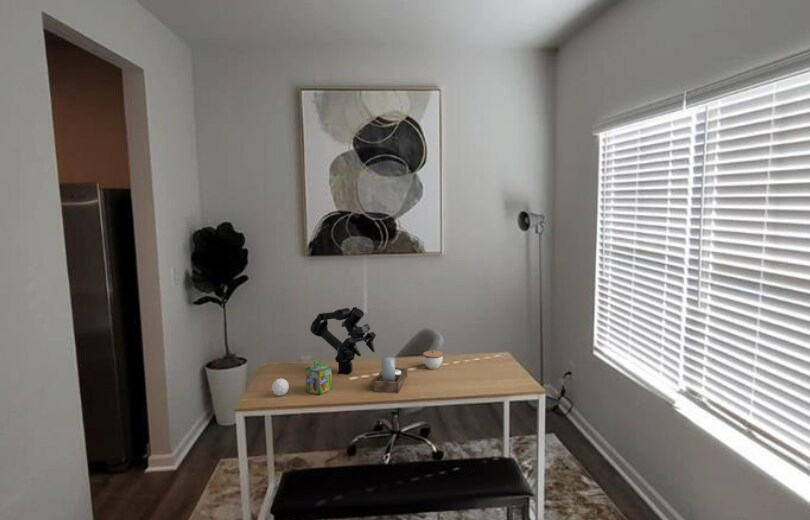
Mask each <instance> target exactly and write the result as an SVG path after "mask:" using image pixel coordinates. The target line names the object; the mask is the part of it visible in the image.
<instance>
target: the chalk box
mask: <svg viewBox="0 0 810 520" xmlns="http://www.w3.org/2000/svg"><path fill="white" fill-rule="evenodd" d="M332 370H333V369H332V366H331V365H327V364H323V363H322V361H321V359H320V358H318V359H315V360H314V361H313V365H311V366H308V367H306V368H305V390H306V391H307V392H306V391H305V392H306V393H312V394H316V395H319V396H321V395H323V394H325V393H327V392H329V391H331V389H332V390H333V377H332V376H333V374H332V373H333V371H332Z"/></svg>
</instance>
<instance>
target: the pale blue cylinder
mask: <svg viewBox="0 0 810 520" xmlns="http://www.w3.org/2000/svg"><path fill="white" fill-rule="evenodd" d="M395 367H396V358H395V357H393V356H385V357H384V356H383V357H382V358H381V371H382V381H385V382H395Z"/></svg>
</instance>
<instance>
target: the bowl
mask: <svg viewBox="0 0 810 520" xmlns="http://www.w3.org/2000/svg"><path fill="white" fill-rule="evenodd" d="M395 374H398V375H401V370H398V369H395Z"/></svg>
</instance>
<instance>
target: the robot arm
mask: <svg viewBox="0 0 810 520" xmlns="http://www.w3.org/2000/svg"><path fill="white" fill-rule="evenodd" d="M364 316H365V314H364V311H363V310H362V309H361V308H358V307H357V306H354V307H352V309H350V308H349V307H345V308H340V309H337V310H335V311H329V312H321V313H318V314H317V315H316V318H315V319H314V320H313V321H312V323H311V325H310V332H311V334H313V335H315V336H316V337H321V338H322V339H323V340H324V341H326V343H328V344H329V345H330V346H331V347H332V348H333V349H334V350H335V351H336V356H335V358H334V359H335V362H336V363H338V365H337V366H338V372H337V374H338V375H341V374H342V375H349V374H351V373H352V372H353V371H354V370H353V369H354V368H353V362H352V361H354V359H355V355H356V356H358V357H361V356H362V353H361V352H360V350H359V348H358V346H357V343H360V342H364V343H365V345H366V346H367V347H368V348H369V350H370V351H371V352H372V353H375V352H376V351H375V345H374V340H375V337H376V336H377V335H376V333H375V332H374V331H371V332H370V331H369V330H371V327H370V324H368V323H365V324H363V326H358V325H357V324H359V323H360V321H361V320H362V318H363V317H364ZM328 320H336V321H342V322H341V328H345V330H346V332H347V336H348V338H345V340H344V341H343V342H342V341H341V340H339V339H338V338H337V337H336V336H335V335H334V334H333V333H332V332H331V331H330V330H329V328H328V323H329V322H328ZM343 320H344V321H343Z"/></svg>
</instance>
